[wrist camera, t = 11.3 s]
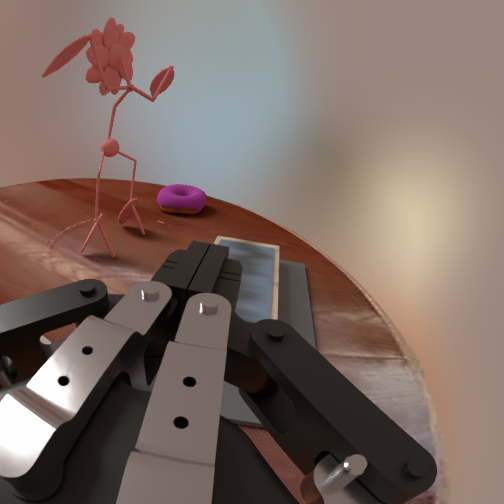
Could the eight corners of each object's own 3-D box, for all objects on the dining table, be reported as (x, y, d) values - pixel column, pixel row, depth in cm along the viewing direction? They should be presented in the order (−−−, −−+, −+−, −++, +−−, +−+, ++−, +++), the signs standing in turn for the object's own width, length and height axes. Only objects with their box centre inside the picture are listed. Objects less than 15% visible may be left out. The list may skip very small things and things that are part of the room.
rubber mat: (320, 432, 19) (323, 428, 18) (118, 393, 19) (117, 389, 19) (303, 267, 44) (304, 263, 44) (200, 249, 44) (200, 246, 44)
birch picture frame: (173, 317, 24) (218, 234, 42) (174, 340, 25) (216, 251, 43) (277, 337, 24) (279, 244, 42) (271, 358, 25) (276, 261, 43)
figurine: (170, 220, 54) (191, 37, 39) (84, 286, 31) (102, -15, 16) (107, 208, 55) (121, 43, 41) (16, 258, 32) (21, 20, 18)
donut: (151, 214, 56) (152, 191, 54) (164, 200, 66) (165, 180, 64) (202, 219, 57) (204, 196, 55) (208, 204, 67) (210, 185, 65)
